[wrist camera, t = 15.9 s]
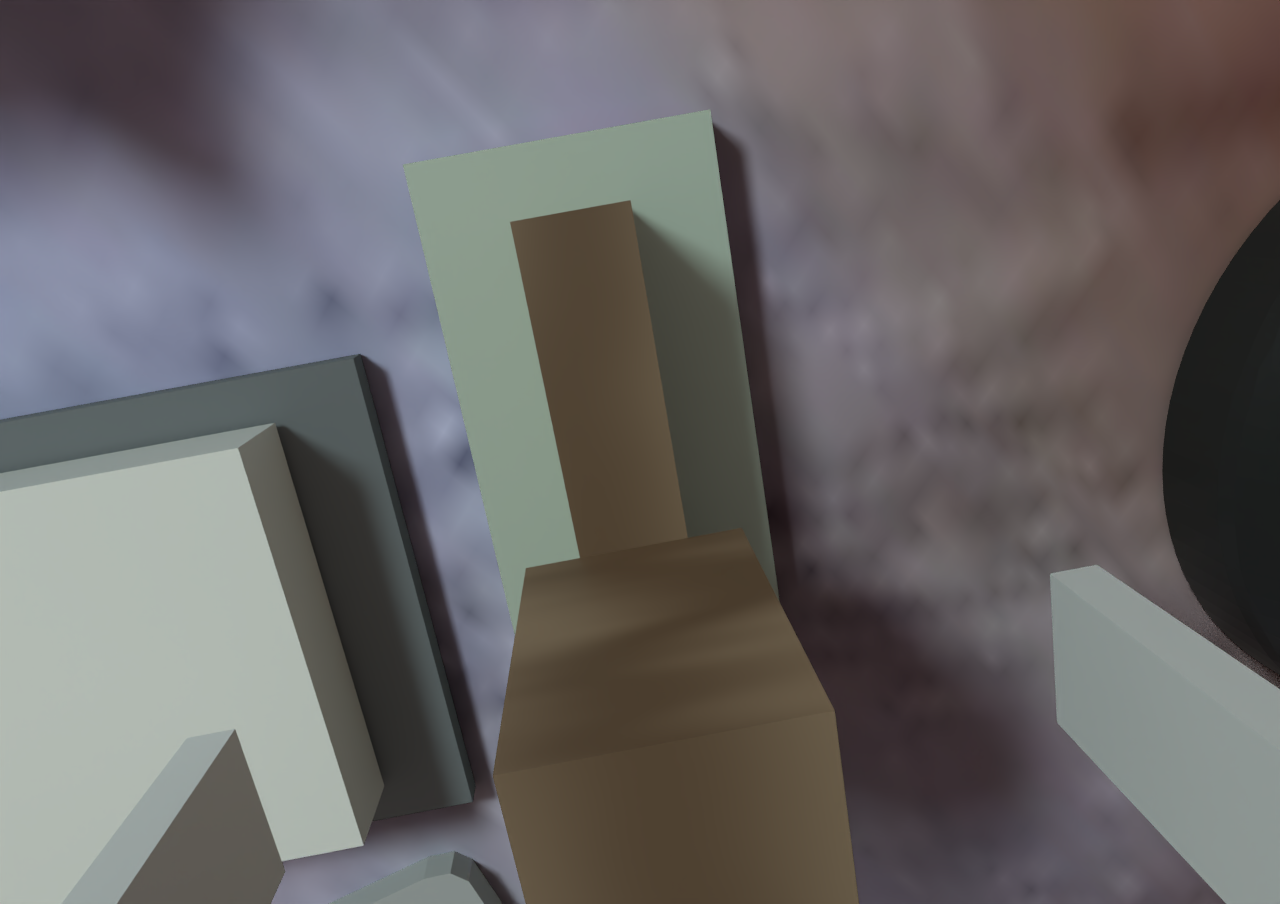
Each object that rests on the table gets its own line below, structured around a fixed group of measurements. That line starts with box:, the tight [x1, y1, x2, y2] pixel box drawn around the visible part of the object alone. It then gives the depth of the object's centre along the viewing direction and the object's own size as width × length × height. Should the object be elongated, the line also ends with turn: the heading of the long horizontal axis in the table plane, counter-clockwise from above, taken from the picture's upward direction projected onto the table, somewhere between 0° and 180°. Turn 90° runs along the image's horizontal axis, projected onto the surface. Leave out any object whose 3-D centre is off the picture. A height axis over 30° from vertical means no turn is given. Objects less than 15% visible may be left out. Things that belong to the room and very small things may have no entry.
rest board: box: [403, 110, 780, 634], centre depth 20 cm, size 6×19×1 cm, turn 10°
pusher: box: [493, 200, 859, 904], centre depth 15 cm, size 4×16×9 cm, turn 10°
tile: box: [0, 423, 384, 904], centre depth 18 cm, size 2×9×10 cm
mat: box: [0, 354, 476, 821], centre depth 19 cm, size 17×11×1 cm, turn 100°
